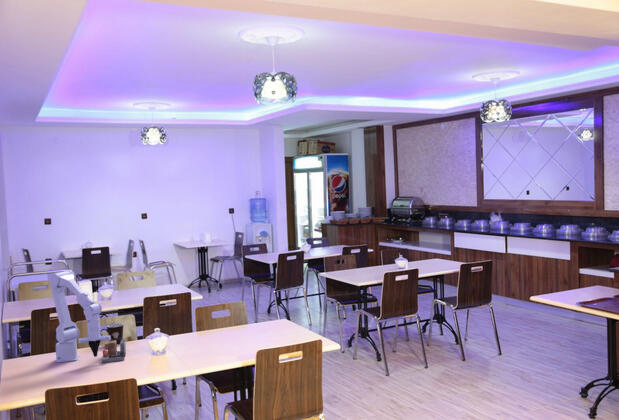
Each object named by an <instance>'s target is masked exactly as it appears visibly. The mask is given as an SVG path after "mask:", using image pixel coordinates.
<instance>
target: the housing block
mask: <svg viewBox="0 0 619 420" xmlns="http://www.w3.org/2000/svg"><path fill="white" fill-rule="evenodd" d="M117 346H118V345H116V340H114V341H109V340H105V342H104V350H108V355H116V353H117V351H118V347H117Z"/></svg>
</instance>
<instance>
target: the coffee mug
mask: <svg viewBox="0 0 619 420" xmlns="http://www.w3.org/2000/svg"><path fill="white" fill-rule="evenodd" d="M102 331H105V332H107V336H109V335H110V338H111V339H110V340H108V341H114V340H116V345H117V344H118V345H120V342H121V340H123V337H124V323H121V322H120V323H119V322H118V323H117V322H116V323H111V324H108V325H107V326H106V328H102V329H100V334H101V336H104V335H103V334H102ZM118 345H117V346H118Z"/></svg>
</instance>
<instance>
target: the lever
mask: <svg viewBox="0 0 619 420" xmlns="http://www.w3.org/2000/svg"><path fill="white" fill-rule="evenodd" d="M101 359H102V360H106V359H109V355H108V350H105V349H103V350H102V357H101Z"/></svg>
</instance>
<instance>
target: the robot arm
mask: <svg viewBox="0 0 619 420" xmlns="http://www.w3.org/2000/svg"><path fill="white" fill-rule="evenodd" d="M48 282H49V286H50V290H51V295H52V298H53V303H54V305H55V306H54V307H55V309H56V315H57V318H58V323H59V325H57V327H56V328H55V332H56V334H55V338H56V341H57V342H56V343H55V357H56V360H55V361H56V362H55V363H64V362H65V363H66V362H73V361H75V362H76V361H78V359H79V357H80V355H79V354H78V349H77V343H78V344H83V343H88V347H89V349H91V352H92V355H93V358H95V357H98V352H99V348H100V344H101V342H102V341H109V340H110V339H111V338H110V335H109V336H108V335H103V336H101V334H102V333H101V334H100V331H101V321H100V314H101V313H102V309H103V308H102V305H101V304H100V303H99V302H97V301H94V300H93V299H92V298H91V296H90V295H89V293H88V292H84V291H83V290H82V289H81V288H80V285H78V283H77V282H76V280H75V275H74V274H73V272H72V271H71V270H65V271H59V272H54V273H51V274H50V275H49V277H48ZM66 288H67V289H68V290H69V291H70V292H72V294H73V295H75V297H76V298H75V300H76V302H77V303H78V304H79V305H80V307H82V309H83V314H84V316H85V320H86V323H87V324H86V325H87V337H80V330H79V328H78V327H77V323H75V322H74V321H72V318H71V314H70V311H69V310H70V309H69V307H68V303H67V299H66V295H65V290H66ZM77 341H78V342H77Z"/></svg>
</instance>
